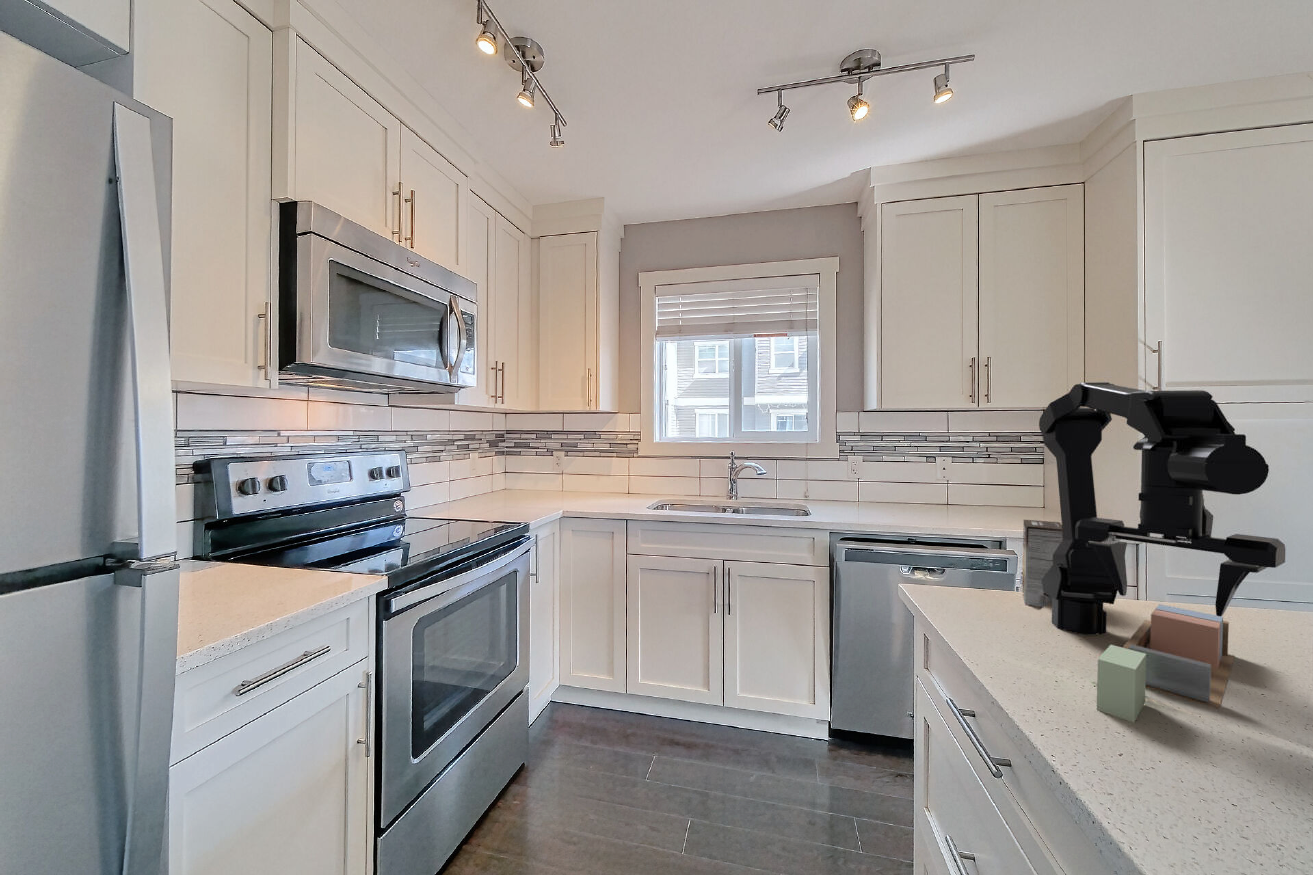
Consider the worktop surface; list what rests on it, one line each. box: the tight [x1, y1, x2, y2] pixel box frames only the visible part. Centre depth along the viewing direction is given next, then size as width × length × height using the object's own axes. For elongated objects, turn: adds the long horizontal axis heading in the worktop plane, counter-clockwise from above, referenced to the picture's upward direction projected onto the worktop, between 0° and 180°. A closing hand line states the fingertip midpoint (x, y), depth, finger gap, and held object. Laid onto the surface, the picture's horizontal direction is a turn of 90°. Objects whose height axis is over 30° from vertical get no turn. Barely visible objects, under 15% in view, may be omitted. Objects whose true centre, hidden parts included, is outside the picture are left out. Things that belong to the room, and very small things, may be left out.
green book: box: [1096, 644, 1146, 723], centre depth 66 cm, size 4×7×6 cm, turn 129°
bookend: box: [1129, 644, 1211, 703], centre depth 68 cm, size 2×8×4 cm, turn 39°
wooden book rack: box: [1122, 607, 1235, 709], centre depth 75 cm, size 24×10×6 cm, turn 129°
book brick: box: [1150, 608, 1221, 670], centre depth 77 cm, size 4×7×6 cm, turn 39°
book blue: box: [1155, 603, 1224, 660], centre depth 80 cm, size 4×7×6 cm, turn 39°
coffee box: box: [1021, 519, 1063, 608], centre depth 105 cm, size 9×6×16 cm
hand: (1168, 604), depth 67 cm, fingers open, 9 cm apart
